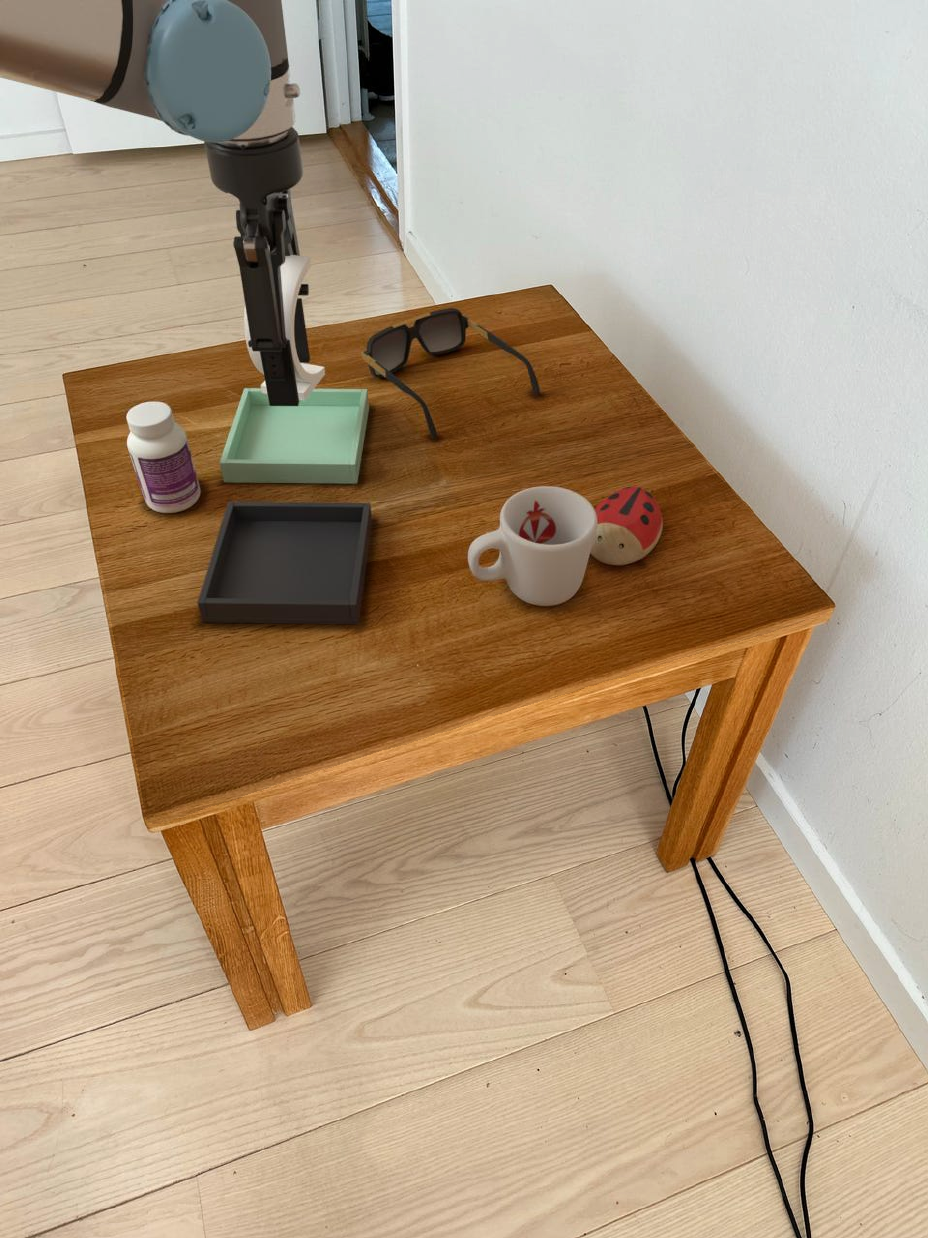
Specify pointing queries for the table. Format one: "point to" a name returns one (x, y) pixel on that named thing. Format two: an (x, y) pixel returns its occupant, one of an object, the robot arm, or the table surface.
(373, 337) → the sunglasses
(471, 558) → the cup
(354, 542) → the charcoal tray
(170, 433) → the pill bottle
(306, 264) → the headphone stand
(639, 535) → the ladybug figurine
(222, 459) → the mint tray
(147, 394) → the table surface
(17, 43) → the robot arm
